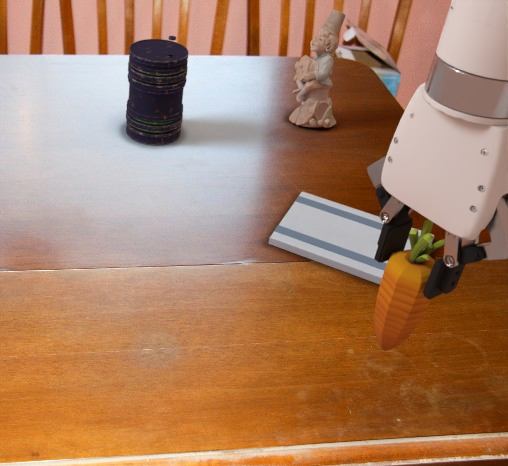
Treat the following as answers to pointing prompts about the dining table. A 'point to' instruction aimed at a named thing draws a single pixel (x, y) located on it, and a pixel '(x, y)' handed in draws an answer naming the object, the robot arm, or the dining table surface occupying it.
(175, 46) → the dark blue cylinder
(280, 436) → the dining table surface
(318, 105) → the figurine
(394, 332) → the carrot
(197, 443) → the dining table surface
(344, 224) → the towel
